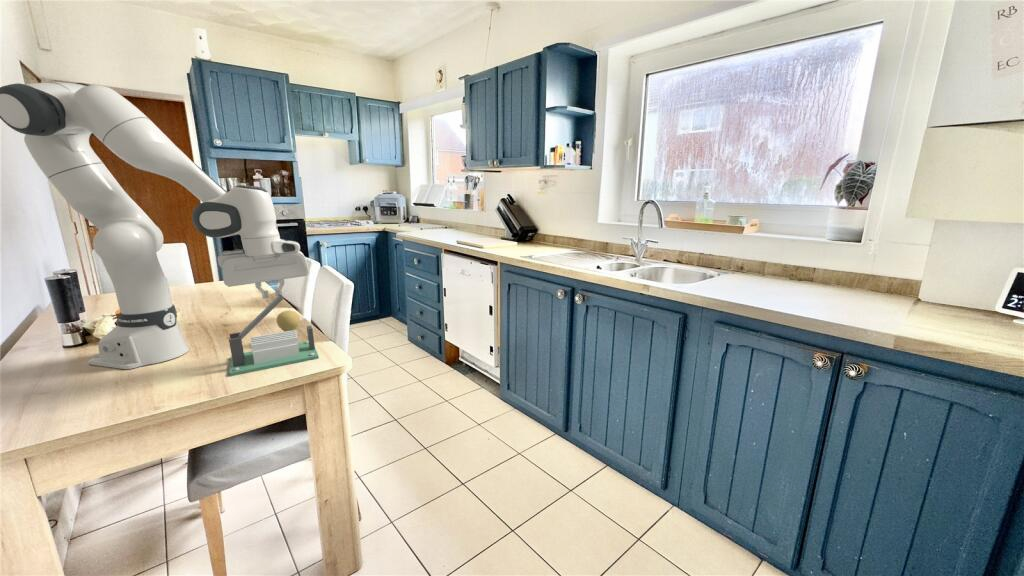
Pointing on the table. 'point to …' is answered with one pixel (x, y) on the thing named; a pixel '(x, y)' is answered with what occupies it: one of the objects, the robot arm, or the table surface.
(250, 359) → the board
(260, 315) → the strap
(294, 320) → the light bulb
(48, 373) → the table surface
